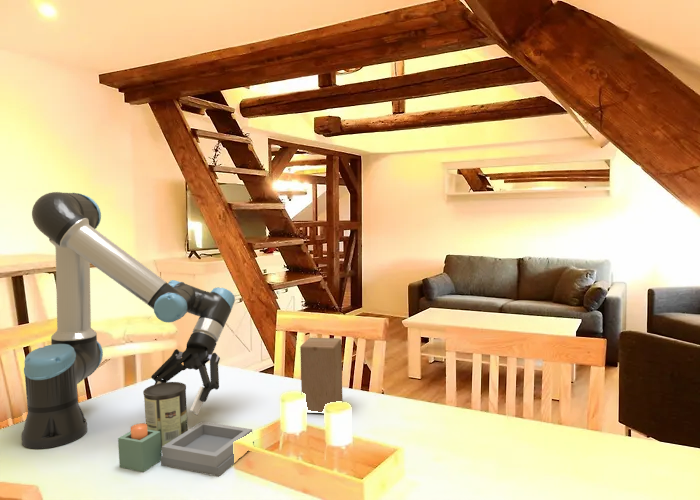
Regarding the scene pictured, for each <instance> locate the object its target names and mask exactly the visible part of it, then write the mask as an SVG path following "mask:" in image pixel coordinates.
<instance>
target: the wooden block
mask: <svg viewBox="0 0 700 500" xmlns="http://www.w3.org/2000/svg"><path fill="white" fill-rule="evenodd" d="M299 348H300V352H299V353H300V378H301V379H300V380H301V381H300V382H301V386H300V387H301V393H302V392H303V393H305V394H306V402H307V407H308V410H311V411H318V412H322V411H323V409H324V406H325V404H327V403H330V402H336V401H343V367H342V365H343V363H342V362H343V356H342V339H341V338H333V337H331V338H330V337H309V338H308V339H306V341H304V342H303V343H302V344H301V345H300V347H299Z"/></svg>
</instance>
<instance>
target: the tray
mask: <svg viewBox="0 0 700 500" xmlns="http://www.w3.org/2000/svg"><path fill="white" fill-rule="evenodd" d="M250 432H252V433H253V428H246V427H240V426H234V425H233V426H232V425H225V424H220V423H213V422H208V421H201V422H199V423H197V424H196V425H194V426H192V427H190V428H189V429H188V431H186V432H184V433H183V434H181V435H180V436H178V437H176V438H175V439H173V440H172V441H170V442H169V443H167V444H165V445H164V446H162V451H161V453H162V456H161V461H160V465H161V466H165V467H169V466H170V467H171V468H175V469H180V470H185V471H191V472H194V473H195V472H196V473H199V474H200V473H201V474H205V475H211V476H214V477H215V476H216V477H220V476H221V475H222V474H224V473H225V472H226V471H227V470H229V468H231V467H232V466H233V465H234V464H235V463H234V454H233V442H234V441H236V440H238V439H240V438H242V437H244V436H246V435H247V434H249V433H250Z"/></svg>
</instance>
